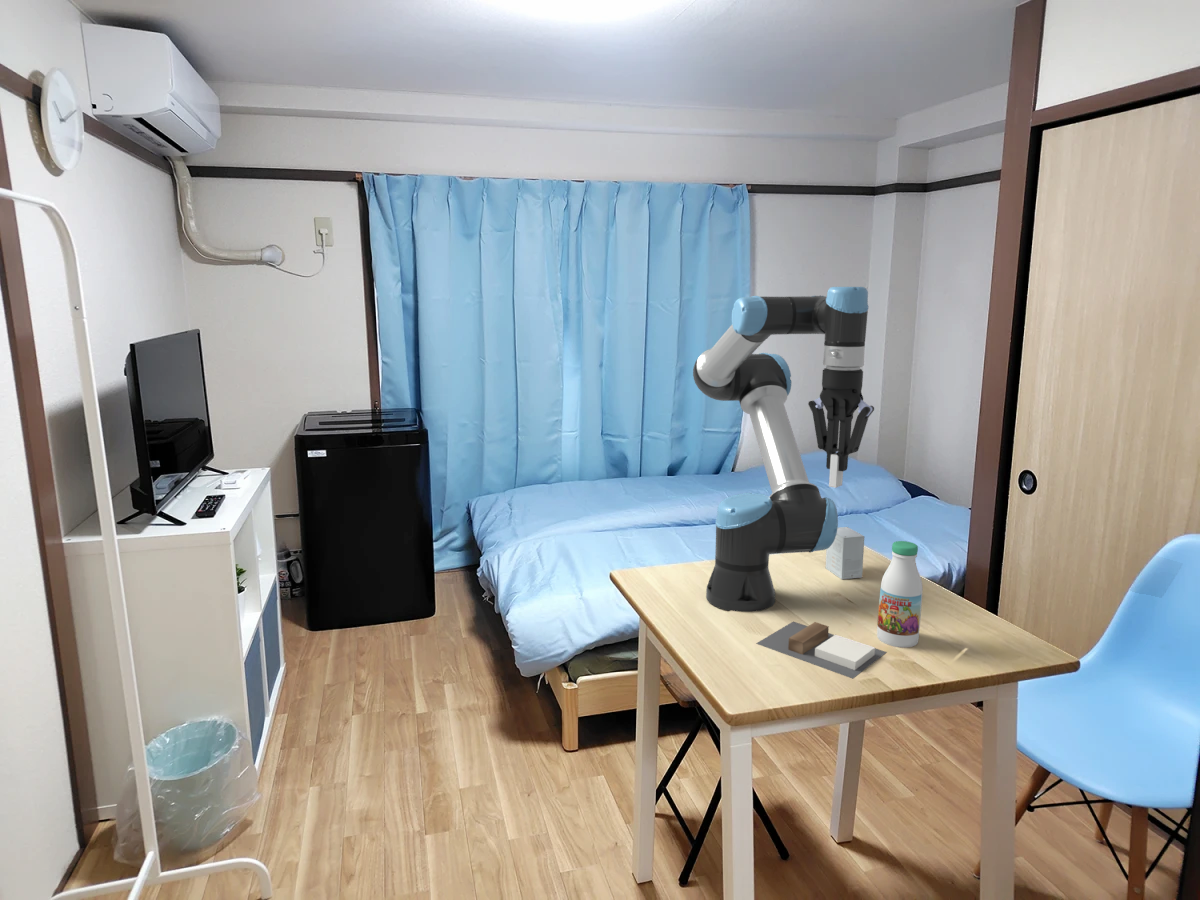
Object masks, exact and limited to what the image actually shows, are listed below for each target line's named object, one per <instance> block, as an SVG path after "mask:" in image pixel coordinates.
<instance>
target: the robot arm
mask: <svg viewBox="0 0 1200 900" xmlns="http://www.w3.org/2000/svg"><path fill="white" fill-rule="evenodd" d="M868 297H869V291H868V289H867V288H866V287H864V286H830V287H829V288H828V290H827V294H826V296H824V295H811V296H809V295H808V296H759V295H752V296H742V297H739V298H738V299H736V300H735V302H734V303H733V308H732V311H731V325H729V327H728V329H726V331H725V332H724V333H723V334H722V335H721V337H720V338H719V339H718V340H717V341H716V342H715V344H714V345H713V346H712V347H711V348H709V349H706V350H705V351H703V352H702V353H701V354H700V355H699V356H698V357H697V359H696V361H695V363H694V364H693V365H694V366H693V370H692V376H693V377H692V378H693V381H694V384H695V385H696V387H697V388H698V390H699V391H701V392H702V394H704V395H705V396H707V397H708V398H710V399H713V400H715V401H722V402H723V401H725V402H726V401H727V402H728V401H731V402H732V401H733V402H734V401H735V402H737V401H738V402H739V405H740V408H741V410H742V411H743V412H744V414H745V413H746V414H748V415H749V417H750V420H751V424H752V427H753V430H754V434H755V438H756V441H757V445H758V449H759V452H760V455H761V458H762V461H763V466H764V469H765V473H766V475H767V479H768V483H769V487H770V490H771V494H770V495H769V496H768V495H767V494H763V493H752V492H751V493H750V492H749V493H747V492H746V493H740V494H735V495H732V496H731V495H730V496H728V497H726V498H724V499H723V500H722V501H720V503H718V505H717V510H716V511H717V512H716V518H715V555H714V556H715V557H714V560H715V561H714V566H713V570H712V572H711V575H710V577H709V580H708V583H707V585H706V591H705V593H706V595H705V597H706V601H707V602H708V603H709V604H711V606H714V607H716V608H718V609H721V610H725V611H727V612H730V611H732V612H741V613H749V612H750V613H751V612H753V613H754V612H759V611H760V612H761V611H764V610H767V609H769V608H771V607H773V605H774V604H775V602H776V590H775V588H774V584H773V579H772V575H771V573H770V569H769V561H770V560H769V559H770V555H777V554H779V555H780V554H795V553H796V554H797V553H813V552H818V551H826V549H828V548H829V547H830V546H831V545H832V544H833V542H834V540H835V537H836V534H837V528H839V527H838V526H839V515H838V514H839V513H838V508H837V506H836V504H835V502H834V501H833V500H832V499H831V498H829V497H826V496H825V497H822V496H821V495H822V494H821V493H820V490H819V487H818V486H817V484H814V483H811V482H810V481H809V478H808V474H807V472H806V468H805V465H804V463H803V459H802V456H801V452H800V450H799V447H798V444H797V441H796V438H795V434H794V431H793V428H792V426H791V422H790V419H789V415H788V413H787V410H786V407H785V403H786V401H787V400H788V396H789V395H790V393H791V389H792V380H791V377H792V373H791V370H790V367H789V364H788V363H787V361H786V360H785V358H783V356H781V355H779V354H776V353H768V352H760V353H754V352H755V351H756V350H757V349H759V347H761V345H762V344H763V343H764V342H765V341H766V340H767V339H769V337H770V336H773V335H775V336H777V335H824V342H823V343H824V347H823V360H822V361H823V362H822V363H823V366H824V367H825V368H823V369H822V379H821V387H822V388H821V389H822V390H821V391H820V394H819V397H818V398H817V397H816V398H815V399H814V400H810V401H808V403H807V404H808V407H809V409H810V411H811V413H812V417H813V424H814V430H815V431H814V432H815V436H816V437H815V438H816V443H817V448H818V449H819V450H823V451H824V452H825V453H826V462H825V463H826V466H825V467H826V469H827V470H829V480H828V482H829V483H828V487H829V488H835V489H836V488H839V487H841V486H843V481H844V480H843V479H844V478H843V477H844V476H843V475H844V472H846V471H847V469H848V467H849V466H848V462H849V455H851V454H853V453H857V452H858V451H859V449H860V445H861V442H862V439H863V436H864V433H865V430H866V426H867V424H868V420H869V417H870V416H871V415H872V413H873V412H874V411H875V407H874V406H873V405H869V404H868V403H866V402H865V401H864V396H863V393H862V389H863V379H864V371H863V369H861V368H862V367H863V366H864V365H865V348H866V346H865V345H866V337H867V336H866V335H867V324H868V313H869V312H868V311H869V304H868V303H869V301H868V299H869V298H868ZM824 408H825V410H826V411H827V412H826V415H825V410H824ZM857 409H858V411H857ZM856 411H857V412H858V415H857V416H856V419H855V423H854V426H853V430H852V421H853V418H854V413H855V412H856ZM826 419H827V422H826ZM851 430H852V431H851Z"/></svg>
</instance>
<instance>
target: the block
mask: <svg viewBox="0 0 1200 900" xmlns="http://www.w3.org/2000/svg"><path fill="white" fill-rule="evenodd" d="M806 626H807V627H806V628H804V629H803V630H801V631H799V632H798V633H796V634H795V635H793V636H791V637H790V638H789V646H788V650H791V651H794V652H796V653H799V654H802V655H803V654H804V653H806V652H807V651H809V650H810V649H812V648H813V647H815V646H816V645H818V644H819V643H821V642H822V641H824V640H825V639H827V638H828V633H829V630H830V629H829V628H830V626H828V625H826V624H824V623H823V624H822V623H820V622H817V621H814V622H812V623H810V624H809V625H806Z"/></svg>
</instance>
